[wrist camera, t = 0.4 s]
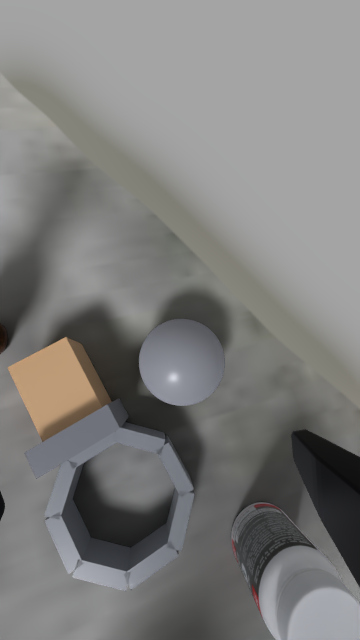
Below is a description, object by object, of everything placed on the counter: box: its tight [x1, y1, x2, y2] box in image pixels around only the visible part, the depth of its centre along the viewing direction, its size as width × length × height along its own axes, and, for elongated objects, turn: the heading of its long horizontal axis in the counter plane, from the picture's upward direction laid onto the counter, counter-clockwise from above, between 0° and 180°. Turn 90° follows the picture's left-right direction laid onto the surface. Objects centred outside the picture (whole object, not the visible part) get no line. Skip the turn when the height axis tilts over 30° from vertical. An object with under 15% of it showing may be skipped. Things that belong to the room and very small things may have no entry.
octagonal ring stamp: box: [8, 337, 195, 591], centre depth 18 cm, size 16×9×5 cm, turn 30°
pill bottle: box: [231, 502, 360, 640], centre depth 17 cm, size 5×5×8 cm
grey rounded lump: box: [139, 319, 225, 406], centre depth 21 cm, size 6×6×4 cm
